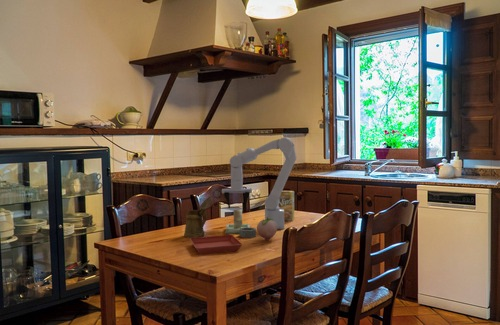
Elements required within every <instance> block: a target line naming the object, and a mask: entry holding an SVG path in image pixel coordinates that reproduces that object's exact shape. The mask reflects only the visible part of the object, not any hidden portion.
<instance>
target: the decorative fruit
mask: <svg viewBox="0 0 500 325" xmlns="http://www.w3.org/2000/svg"><path fill="white" fill-rule="evenodd" d="M277 230H278V229H277V225H276V223H275V222H274V221H273V219H271V218H268V217H267V219H265V218H264V219H262V220H260V221H259V222H258V224H257V226H256V233H257V234H258V236H260V237H261V238H262V239H264V240H266V241H269V240H270V239H272V238H274V236H275V235H276V234H277Z"/></svg>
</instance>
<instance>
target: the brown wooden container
mask: <svg viewBox="0 0 500 325" xmlns="http://www.w3.org/2000/svg"><path fill="white" fill-rule="evenodd" d="M211 202H212V198H211V196H208V197H207V198H206V199H205V200H203V202H202V203H201V205H200V207H199V208H200V209H191V210H190V209H189V210H187V211H186V214H185V219H186V220H185V228H184V234H183V237H184V238H189V239H190V238H196V237H205V234H206V233H205V230H204V226H205V225H206V222H207V218H208V216H207V215H208V214H207V211H206V209H207V208H208V207H209V205H211Z"/></svg>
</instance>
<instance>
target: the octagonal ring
mask: <svg viewBox="0 0 500 325" xmlns="http://www.w3.org/2000/svg"><path fill="white" fill-rule="evenodd" d="M239 237H240V238H244V239H246V238H249V239H250V238H254V237H257V227H251V226H250V227H245V228H240V233H239Z"/></svg>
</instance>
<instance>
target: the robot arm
mask: <svg viewBox="0 0 500 325" xmlns="http://www.w3.org/2000/svg"><path fill="white" fill-rule="evenodd" d="M270 150H280V151H281V153H282V154H283V156H284V162H283V164H282V167H281V169H280V171H279V174H278V175H277V178H276V180H275V183H274V185H273V188H272V190H271V192H270V193H269V195H268V197H266V199H264V206H265V207H264V220H265V219H267V217H268V218H271V219H273V221H274V222H275V223H276V225H277V230H279V229H281V230H284V229H285V221H286V220H284V209H280V208H279V206H278V204H279V202H280V199H279V198H280V195H281V192H282V191H284V187H285V185H286V183H287V181H288V178H289V177H290V174H291V173H292V172H291V171H292V169H293V167H294V165H295V164H296V160H297V155H296V154H297V153H296V148H295V144H294V142H293V140H292V139H291V138H289V137H285V136H284V137H282V138H278V139H275V140H272V141H270V142H267V143H265V144H263V145H261V146H260V147H257V148H255V149H254V148H251V147H250V148H249V147H248V148H246V149H245V150H244V151H242V152H238V153H237V155H235V154H234V155H233V156H231V157H230V159H229V165H230V188H222V189H221V193H222V194H223V196H224V198H225V199H226V202H227V207H228V209H231V202H230V199H231V198H230V195H231V194H244V204H243V206H244V207H243V208H244V209H246V208H247V203H248V199H249V196H250V195H251V194H252V193H253V191H252V190H253V189H252V188H244V185H243V182H244V177H243V165H246V164H248V163H250V162H253V161H254V160H257V157H258V156H259V155H261V154H264V153H266V152H268V151H270Z"/></svg>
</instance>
